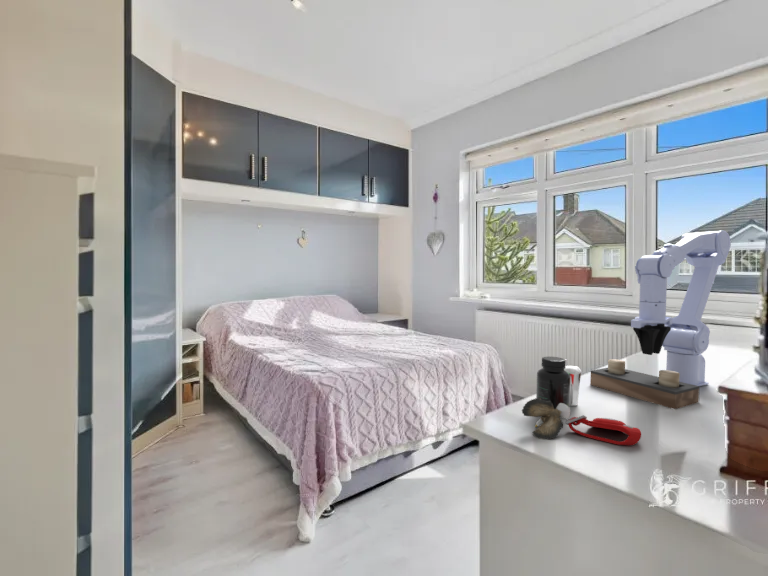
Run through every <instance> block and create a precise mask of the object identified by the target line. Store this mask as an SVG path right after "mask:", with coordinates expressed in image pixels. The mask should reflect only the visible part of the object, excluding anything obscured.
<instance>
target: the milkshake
mask: <svg viewBox="0 0 768 576" xmlns="http://www.w3.org/2000/svg"><path fill="white" fill-rule="evenodd" d="M564 359H565V358H564ZM565 366H566V368H565V369H564V370H565V371H566V372H568V374H569V375H570V406H569V407H576V406H578V403H579V395H580V383H581V377H582V370H581V368H580V367H579V366H577V365H568V359H565Z"/></svg>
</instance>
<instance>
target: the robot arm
mask: <svg viewBox="0 0 768 576" xmlns="http://www.w3.org/2000/svg"><path fill="white" fill-rule="evenodd" d="M731 245H732V244H731V237H730V234H729V232H727V231H726V230H723V229H721V230H714V231H701V232H686V233H684V234H682V235H681V237H680V240H679V241H678V242H676V243H675V244H672V243H665V244H663V247H662V248H660V249H658V250H654V251H653V253H652V254H649V255H642V256H641V257H640V258H638V260H637V261H636V263H635V266H634V269H635V274H636V277H637V283H638V284H639V301H638V303H639V306H638V307H639V308H638V309H639V310H638V316H635V317H634V319H631V320H630V327H631V328H632V329H633V331H634V333H635V335H636V337H637V339H638V342H639V344H640V349H641V352H642V354H643V355H649V356H652V355H653V354H656V355H660V353H661V351H662V347H663V348H664V349H663V350H664V351H666V367H665V368H666V370H669V371H675V372H678V373H680V375H679V382H683V383H687V384H692V385H696V386H699V387H702V386H707V385H709V382H707V381H705V380H706V360H705V357H704V356H703V355H702V354H703V353H704V352H706V350H707V349H708V347H709V344H710V333H711V331H710V328H709V326H707V325H706V324H705V323H704V322H703V321H702V318H703V315H704V311H705V308H706V306H707V302H708V299H709V297H710V293H711V290H712V289H713V288H712V287H713V285H714V281H715V279H716V276H717V273H718V271H719V270H718V269H719V267H720V266H722V265H723V264H725V263H726V260H727V258H728V255H729V252H730V249H731ZM684 260H686V262H687V264H689V265H691V266H692V267H694V269H693V272H692V276H691V278H690V282H689V284H688V287H687V289H686V293H685V296H684V299H683V300H682V304H681V306H680V310H679V313H678V315H676V316H674V317H671V316H667V312H666V311H667V291H668V290H667V287H668V285H667V284H668V278H670V277H671V275H672V273H673V270H674V269H675V268H676V267H677V266H679V265H680V264H682V263H683V262H684Z"/></svg>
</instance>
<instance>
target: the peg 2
mask: <svg viewBox="0 0 768 576" xmlns="http://www.w3.org/2000/svg"><path fill="white" fill-rule="evenodd" d="M679 375H680V373H678V372H675V371H669V370H665V369H662V370H661V369H660V370H659V371H658V377H659V385H662V386H666V387H670V388H679Z"/></svg>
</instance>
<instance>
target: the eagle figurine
mask: <svg viewBox="0 0 768 576" xmlns="http://www.w3.org/2000/svg"><path fill="white" fill-rule="evenodd" d="M521 412H522V414H523V416H526V417H534V418H538V417H539V419H538V420H537V421H536V422H535V425H534V427H535V429H534V430H533V431H532V432H531V434H532V435H533V437H534V438H536V439H540V440H541V439H542V440H545V439H547V440H549V439H554V438H556V437H557V436H558V434H559V433H560V431H561V430H562V429H563V428H564V422H563V421H562V419H565V420H568V419H570V416H571V408H570V406H569V407H568V406H567V405H566V404H564V403H559V404H558V406H557V407H556V409H554V407H553V404H552V403H551V401H545V400H542V399H538V398H536V397H535V398H533V399H531V400H530V399H529V401H526V403H525V404H524V406H522V409H521ZM536 427H537V428H536Z"/></svg>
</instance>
